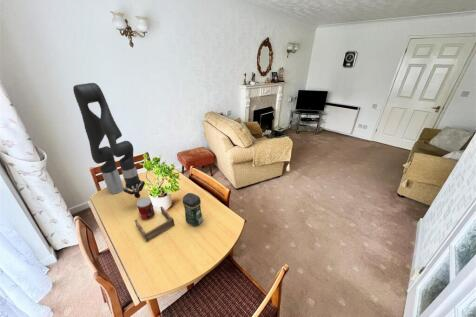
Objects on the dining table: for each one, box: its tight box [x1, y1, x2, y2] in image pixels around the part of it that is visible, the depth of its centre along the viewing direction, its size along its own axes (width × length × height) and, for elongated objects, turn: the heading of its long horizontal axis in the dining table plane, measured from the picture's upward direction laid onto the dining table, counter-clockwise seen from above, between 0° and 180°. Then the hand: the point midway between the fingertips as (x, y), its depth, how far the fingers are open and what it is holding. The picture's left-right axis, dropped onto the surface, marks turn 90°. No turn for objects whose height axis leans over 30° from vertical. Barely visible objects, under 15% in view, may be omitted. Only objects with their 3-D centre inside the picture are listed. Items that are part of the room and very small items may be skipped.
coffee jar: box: [182, 192, 204, 227], centre depth 111 cm, size 10×8×19 cm
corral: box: [134, 206, 175, 243], centre depth 111 cm, size 14×16×5 cm
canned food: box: [136, 197, 155, 221], centre depth 116 cm, size 8×8×11 cm
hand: (137, 197), depth 123 cm, fingers closed
